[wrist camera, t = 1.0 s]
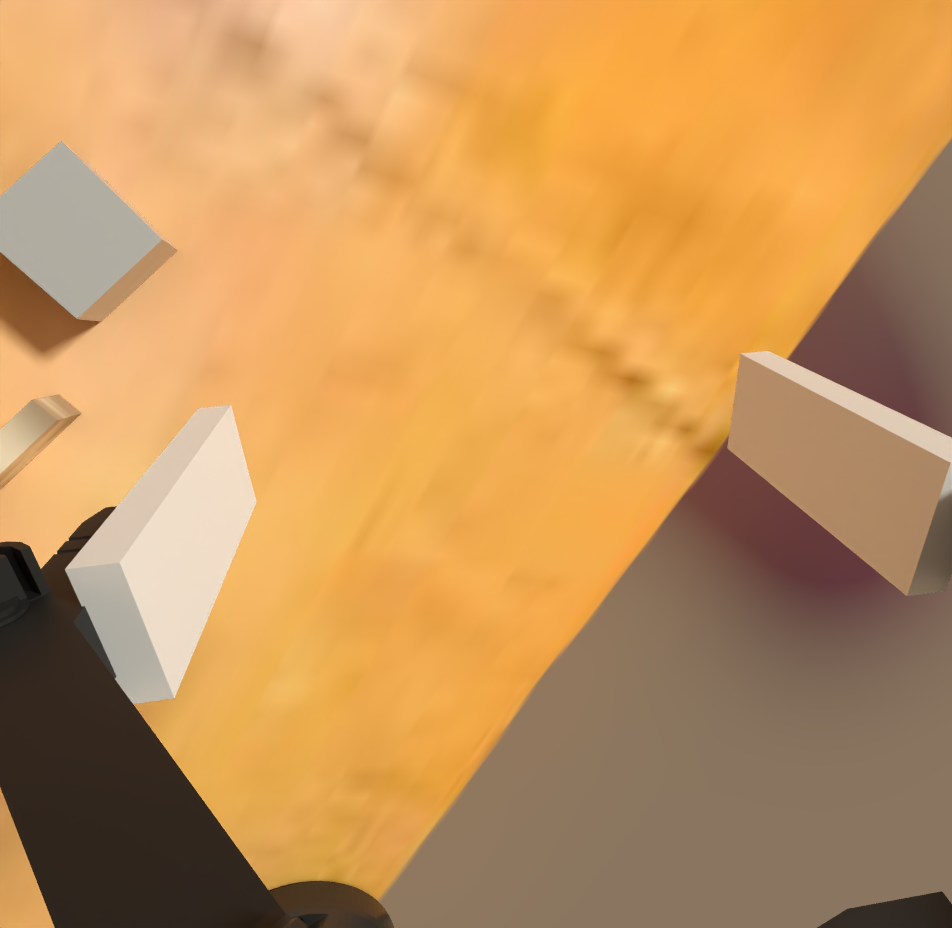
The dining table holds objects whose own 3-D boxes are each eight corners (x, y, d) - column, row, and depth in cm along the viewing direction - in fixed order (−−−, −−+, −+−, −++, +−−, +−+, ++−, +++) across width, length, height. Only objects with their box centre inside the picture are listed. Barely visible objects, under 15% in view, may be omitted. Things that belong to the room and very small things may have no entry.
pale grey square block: (102, 321, 34) (76, 318, 31) (8, 238, 33) (-32, 224, 29) (178, 250, 35) (162, 239, 31) (90, 164, 33) (61, 141, 29)
